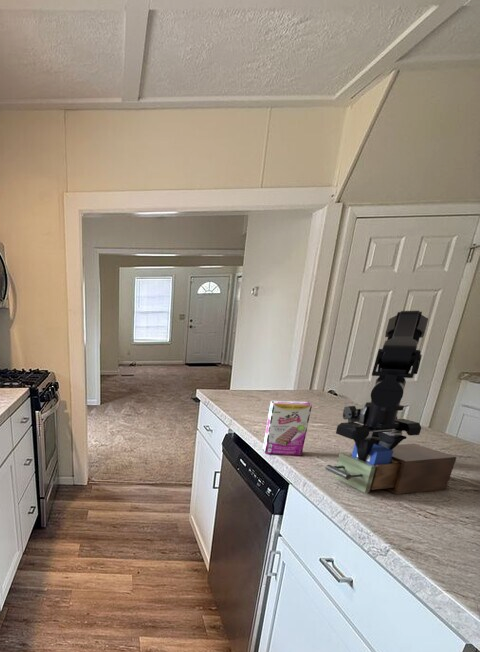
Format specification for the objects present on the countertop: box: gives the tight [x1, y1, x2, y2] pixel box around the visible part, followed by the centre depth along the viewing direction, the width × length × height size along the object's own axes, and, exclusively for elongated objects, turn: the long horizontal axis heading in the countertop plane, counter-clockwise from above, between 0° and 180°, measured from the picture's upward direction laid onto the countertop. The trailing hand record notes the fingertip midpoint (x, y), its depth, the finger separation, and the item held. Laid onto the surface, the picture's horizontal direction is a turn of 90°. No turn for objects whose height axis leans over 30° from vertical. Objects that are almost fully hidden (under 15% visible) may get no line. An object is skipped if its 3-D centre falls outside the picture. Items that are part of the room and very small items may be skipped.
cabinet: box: [384, 443, 458, 495], centre depth 103 cm, size 15×12×9 cm
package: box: [351, 443, 393, 466], centre depth 100 cm, size 7×4×5 cm, turn 10°
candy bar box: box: [262, 400, 313, 456], centre depth 126 cm, size 11×5×16 cm, turn 78°
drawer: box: [325, 452, 402, 494], centre depth 101 cm, size 18×10×7 cm, turn 100°
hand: (369, 462), depth 100 cm, fingers closed on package, 4 cm apart
